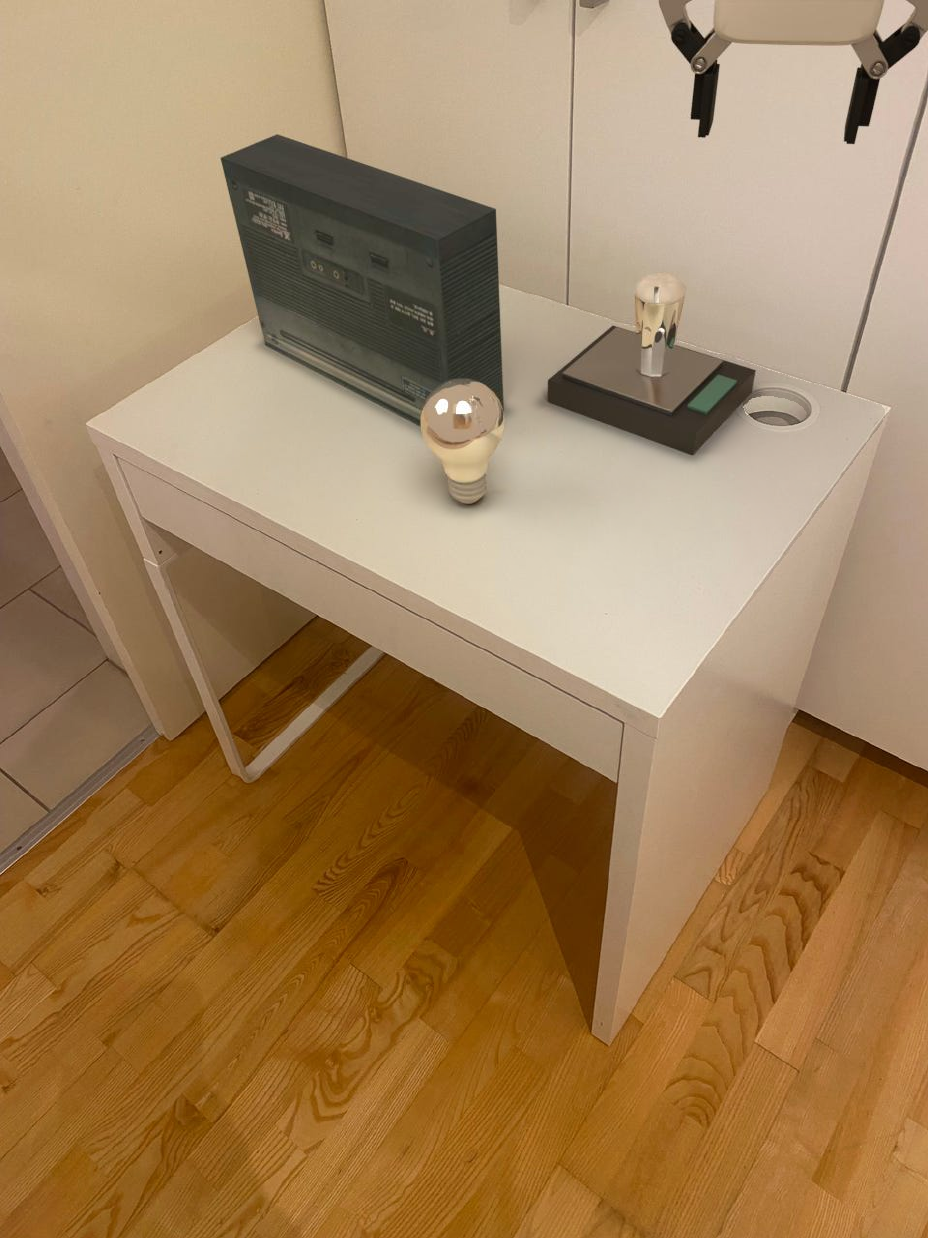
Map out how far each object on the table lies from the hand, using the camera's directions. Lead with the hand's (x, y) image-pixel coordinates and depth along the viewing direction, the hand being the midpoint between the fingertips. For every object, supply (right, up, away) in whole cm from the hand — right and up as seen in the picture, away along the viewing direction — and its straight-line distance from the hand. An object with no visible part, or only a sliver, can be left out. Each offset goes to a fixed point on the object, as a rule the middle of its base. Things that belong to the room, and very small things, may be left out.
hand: (776, 133), depth 66 cm
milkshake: (-3, -10, +26) cm, 28 cm away
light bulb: (-21, -23, +19) cm, 37 cm away
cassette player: (-31, -8, +34) cm, 47 cm away
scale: (-3, -12, +28) cm, 31 cm away
